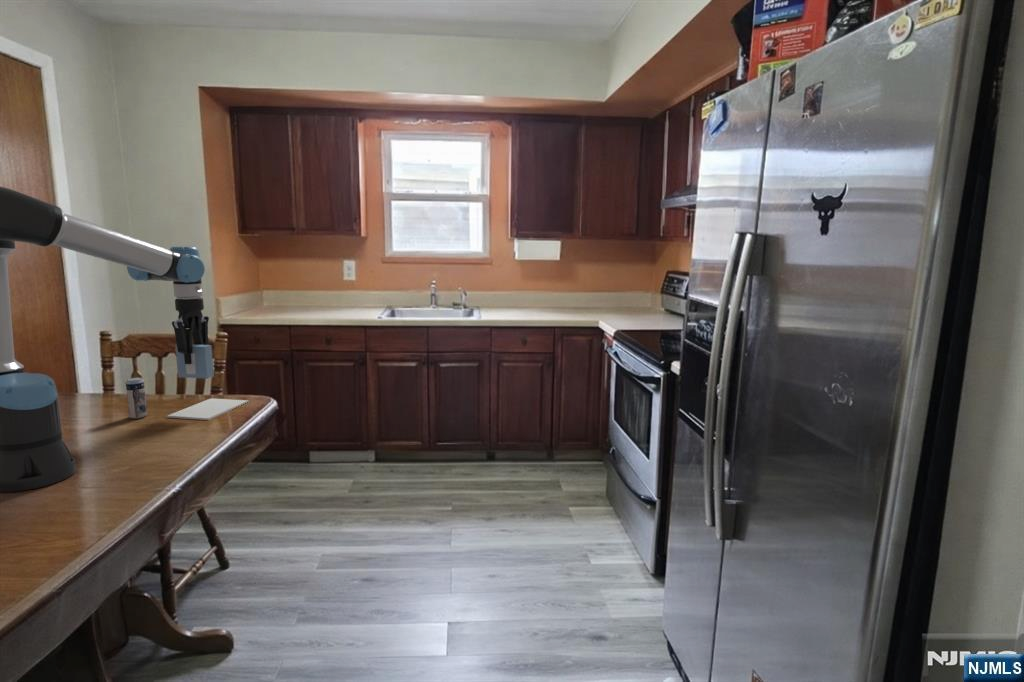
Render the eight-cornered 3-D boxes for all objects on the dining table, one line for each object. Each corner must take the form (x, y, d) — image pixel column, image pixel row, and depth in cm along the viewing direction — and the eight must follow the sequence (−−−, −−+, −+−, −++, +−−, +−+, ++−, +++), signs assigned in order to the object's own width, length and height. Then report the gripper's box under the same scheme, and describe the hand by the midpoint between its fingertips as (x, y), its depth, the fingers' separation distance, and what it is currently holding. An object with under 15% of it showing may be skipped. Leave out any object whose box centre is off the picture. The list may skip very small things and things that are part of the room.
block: (207, 378, 171) (204, 346, 169) (178, 377, 172) (175, 345, 170) (213, 376, 173) (211, 345, 172) (185, 374, 175) (182, 343, 173)
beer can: (140, 419, 167) (136, 381, 165) (125, 419, 167) (121, 380, 165) (151, 414, 172) (147, 377, 170) (136, 414, 172) (132, 377, 170)
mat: (208, 420, 168) (208, 418, 167) (167, 417, 169) (167, 415, 169) (248, 402, 187) (248, 400, 187) (211, 400, 189) (210, 398, 189)
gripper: (180, 300, 160) (188, 379, 164) (217, 295, 176) (223, 367, 180) (157, 299, 161) (165, 378, 165) (196, 295, 177) (202, 366, 181)
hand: (195, 372), depth 172 cm, fingers closed on block, 3 cm apart
